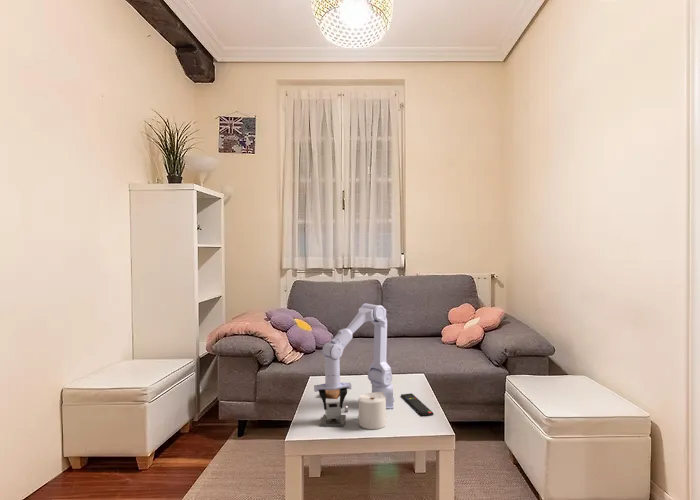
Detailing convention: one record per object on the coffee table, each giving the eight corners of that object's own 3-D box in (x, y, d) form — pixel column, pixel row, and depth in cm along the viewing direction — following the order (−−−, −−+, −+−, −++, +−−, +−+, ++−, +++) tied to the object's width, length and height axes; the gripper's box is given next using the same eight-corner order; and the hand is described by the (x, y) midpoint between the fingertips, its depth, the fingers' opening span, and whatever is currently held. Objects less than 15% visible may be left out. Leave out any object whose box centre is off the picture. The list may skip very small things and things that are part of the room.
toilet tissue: (358, 429, 158) (358, 403, 158) (358, 416, 170) (358, 391, 170) (387, 429, 158) (386, 403, 158) (385, 416, 170) (385, 391, 170)
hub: (346, 417, 170) (345, 408, 170) (343, 426, 161) (343, 417, 161) (323, 416, 171) (323, 408, 170) (320, 426, 162) (320, 417, 162)
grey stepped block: (339, 411, 169) (339, 402, 169) (341, 418, 164) (341, 407, 163) (325, 413, 168) (325, 403, 168) (326, 419, 163) (326, 409, 163)
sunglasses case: (337, 399, 189) (330, 386, 190) (325, 406, 191) (318, 392, 192) (350, 386, 206) (343, 374, 207) (338, 392, 208) (332, 380, 209)
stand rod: (348, 411, 176) (347, 405, 176) (347, 412, 174) (347, 406, 174) (344, 411, 176) (344, 405, 176) (344, 412, 175) (344, 406, 175)
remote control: (411, 396, 193) (411, 393, 193) (434, 416, 170) (434, 413, 170) (401, 397, 192) (400, 394, 192) (421, 418, 169) (421, 415, 169)
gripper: (349, 369, 171) (349, 402, 171) (313, 371, 168) (313, 405, 168) (352, 374, 164) (352, 409, 164) (314, 377, 161) (315, 412, 161)
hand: (333, 408), depth 166 cm, fingers closed on grey stepped block, 6 cm apart
